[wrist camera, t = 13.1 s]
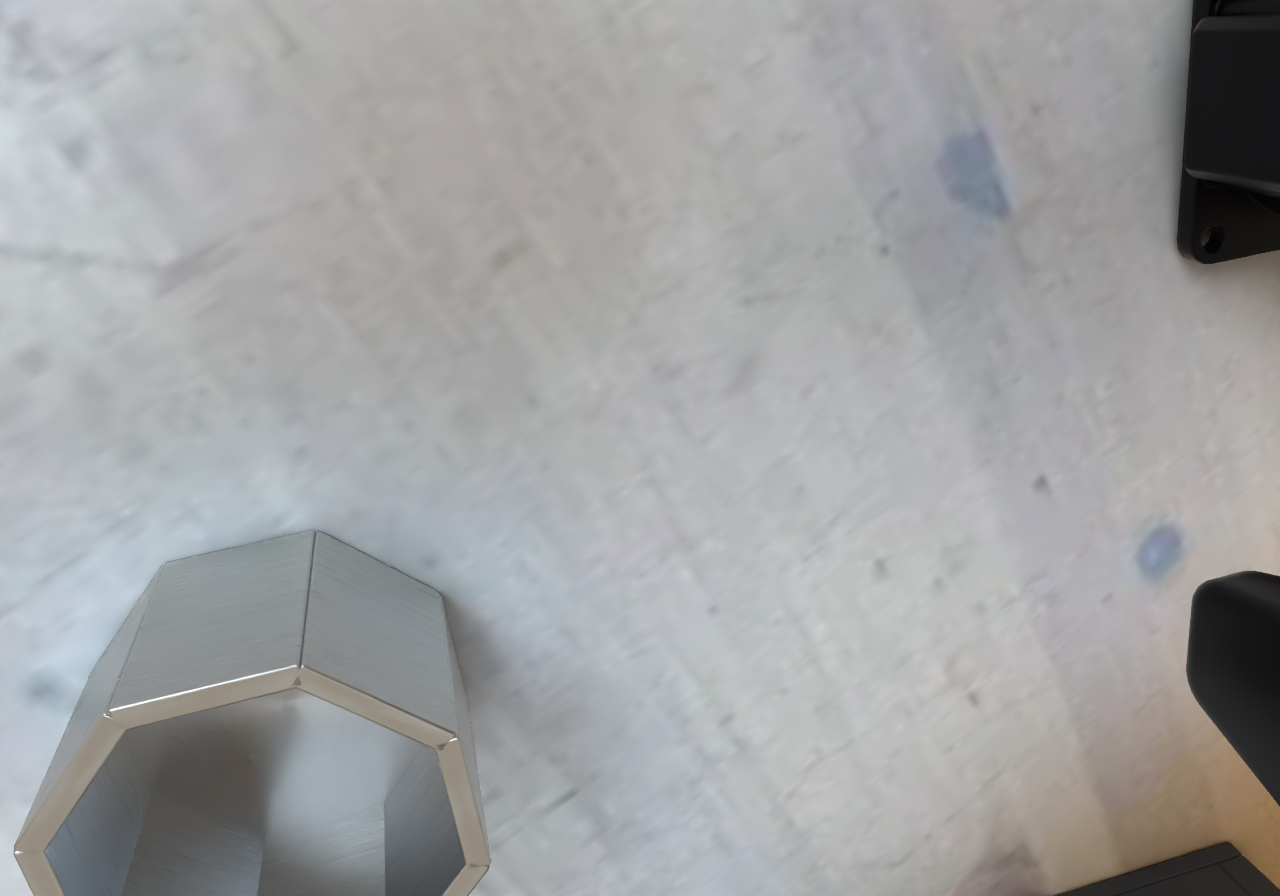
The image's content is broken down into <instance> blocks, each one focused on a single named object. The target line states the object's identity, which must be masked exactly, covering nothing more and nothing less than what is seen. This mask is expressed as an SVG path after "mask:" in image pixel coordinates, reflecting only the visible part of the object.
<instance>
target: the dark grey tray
mask: <svg viewBox="0 0 1280 896" xmlns="http://www.w3.org/2000/svg"><path fill="white" fill-rule="evenodd" d="M1059 896H1280V890H1279V889H1278V888H1277V887H1276V886H1275V885H1274V884H1273V883H1272V882H1271V881H1270V880H1269V879H1268V878H1267V877H1266V876H1265V875H1263V874H1262V873H1261V872H1260V871H1259V870H1258V869H1257V868H1256V867H1255V866H1254V865H1253V864H1252V863H1251V862H1250V861H1249V860H1247V859H1246V858H1245V857H1244V856H1242V854H1241V852H1239V851H1238V850H1237V849H1236V848H1235V847H1234V846H1233V845H1232V844H1231V843H1230V842H1226V843H1223V844H1220V845H1216V846H1213V847H1210V848H1207V849H1204V850H1201V851H1198V852H1194V853H1191V854H1188V855H1185V856H1182V857H1179V858H1176V859H1172V860H1169V861H1166V862H1163V863H1160V864H1157V865H1153V866H1150V867H1147V868H1144V869H1141V870H1138V871H1135V872H1131V873H1128V874H1125V875H1122V876H1119V877H1116V878H1113V879H1109V880H1106V881H1103V882H1100V883H1097V884H1094V885H1090V886H1087V887H1084V888H1081V889H1078V890H1075V891H1072V892H1068V893H1065V894H1062V895H1059Z"/></svg>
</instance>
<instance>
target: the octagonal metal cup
mask: <svg viewBox="0 0 1280 896" xmlns="http://www.w3.org/2000/svg"><path fill="white" fill-rule="evenodd" d="M14 856H15V858H16V860H17V862H18V864H19V866H20V869H21V871H22V873H23V875H24V877H25V879H26V881H27V883H28V885H29V887H30V889H31V891H32V893H33V895H34V896H468V895H469V894H470V892H471V891H472V890H473V888H474V887H475V886H476V885H477V883H478V882H479V881H480V879H481V878H482V877H483V876H484V874H485V873H486V872H487V870H488V869H489V866H490V865H489V864H490V862H491V858H490V851H489V844H488V837H487V830H486V823H485V816H484V810H483V803H482V796H481V789H480V782H479V775H478V768H477V761H476V754H475V747H474V740H473V733H472V727H471V720H470V713H469V706H468V701H467V697H466V693H465V688H464V684H463V680H462V676H461V672H460V668H459V664H458V660H457V656H456V652H455V648H454V644H453V640H452V636H451V631H450V627H449V623H448V619H447V615H446V611H445V607H444V603H443V599H442V596H441V595H439V593H438V591H436V590H434V589H432V588H430V587H428V586H426V585H424V584H422V583H420V582H418V581H416V580H414V579H412V578H410V577H408V576H406V575H404V574H403V573H401V572H399V571H397V570H395V569H393V568H391V567H389V566H387V565H385V564H383V563H381V562H379V561H377V560H375V559H373V558H371V557H369V556H367V555H366V554H364V553H362V552H360V551H358V550H356V549H354V548H352V547H350V546H348V545H346V544H344V543H342V542H340V541H338V540H336V539H334V538H332V537H330V536H328V535H327V534H325V533H323V532H321V531H316V532H315V531H314V530H309V531H305V532H300V533H296V534H291V535H287V536H282V537H278V538H273V539H269V540H264V541H260V542H255V543H251V544H246V545H242V546H237V547H233V548H228V549H224V550H219V551H215V552H210V553H206V554H202V555H197V556H193V557H188V558H184V559H179V560H175V561H170V562H167V563H166V564H165V565H163V566H161V567H160V569H159V570H158V572H157V573H156V575H155V576H154V578H153V579H152V581H151V582H150V584H149V586H148V587H147V589H146V590H145V592H144V593H143V595H142V596H141V598H140V599H139V601H138V602H137V604H136V605H135V607H134V608H133V610H132V611H131V613H130V614H129V616H128V617H127V619H126V620H125V622H124V623H123V625H122V626H121V628H120V630H119V631H118V633H117V634H116V636H115V637H114V639H113V640H112V642H111V643H110V645H109V646H108V648H107V649H106V651H105V652H104V654H103V655H102V657H101V658H100V660H99V661H98V663H97V664H96V666H95V667H94V669H93V670H92V672H91V674H90V676H89V678H88V680H87V682H86V685H85V687H84V689H83V691H82V694H81V696H80V698H79V700H78V703H77V705H76V707H75V709H74V712H73V714H72V716H71V719H70V721H69V723H68V725H67V728H66V730H65V732H64V734H63V737H62V739H61V741H60V743H59V746H58V748H57V750H56V752H55V755H54V757H53V759H52V761H51V764H50V766H49V768H48V771H47V773H46V775H45V777H44V780H43V782H42V784H41V786H40V789H39V791H38V793H37V795H36V798H35V800H34V802H33V804H32V807H31V809H30V811H29V814H28V816H27V818H26V820H25V823H24V825H23V827H22V829H21V832H20V834H19V836H18V838H17V841H16V843H15V845H14Z"/></svg>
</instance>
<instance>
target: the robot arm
mask: <svg viewBox="0 0 1280 896" xmlns="http://www.w3.org/2000/svg"><path fill="white" fill-rule="evenodd" d="M1209 228H1210V232H1211V233H1210V237H1209V240H1208V241H1207V242H1206V244H1205V245H1204V246H1203V243H1202V241H1203V237H1204V234H1205V233H1206V232H1207V231H1208V229H1209ZM1177 243H1178V250H1179V251H1180V253H1181V255H1182V256H1183V257H1185V258H1187V259H1188V260H1191V261H1195V262H1199V263H1202V264H1214V263H1219V262H1223V261H1228V260H1233V259H1237V258H1242V257H1247V256H1251V255H1256V254H1261V253H1266V252H1270V251H1275V250H1280V0H1194V1H1193V16H1192V30H1191V45H1190V59H1189V74H1188V89H1187V103H1186V118H1185V133H1184V147H1183V162H1182V176H1181V191H1180V206H1179V220H1178V235H1177ZM1186 673H1187V679H1188V683H1189V685H1190V688H1191V691H1192V693H1193V695H1194V697H1195V699H1196V700H1197V702H1198V703H1199V705H1200V706H1201V707H1202V709H1203V710H1204V711H1205V712H1206V714H1207V715H1208V716H1209V717H1210V719H1211V720H1212V721H1213V722H1214V724H1215V725H1216V726H1217V728H1218V729H1219V730H1220V731H1221V733H1222V734H1223V735H1224V736H1225V738H1226V739H1227V740H1228V741H1229V743H1230V744H1231V745H1232V746H1233V748H1234V749H1235V750H1236V752H1237V753H1238V754H1239V755H1240V757H1241V758H1242V759H1243V760H1244V762H1245V763H1246V764H1247V765H1248V767H1249V768H1250V769H1251V770H1252V772H1253V773H1254V774H1255V776H1256V777H1257V778H1258V779H1259V781H1260V782H1261V783H1262V784H1263V786H1264V787H1265V788H1266V789H1267V791H1268V792H1269V793H1270V794H1271V796H1272V797H1273V798H1274V800H1275V801H1276V802H1277V803H1278V805H1279V806H1280V576H1276V575H1271V574H1267V573H1263V572H1257V571H1242V572H1238V573H1234V574H1230V575H1227V576H1223V577H1219V578H1216V579H1212V580H1208V581H1206V582H1204V583H1203V584H1201V585H1200V586H1199V587H1198V588H1197V590H1196V592H1195V593H1194V595H1193V599H1192V606H1191V617H1190V629H1189V641H1188V652H1187V664H1186Z"/></svg>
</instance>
